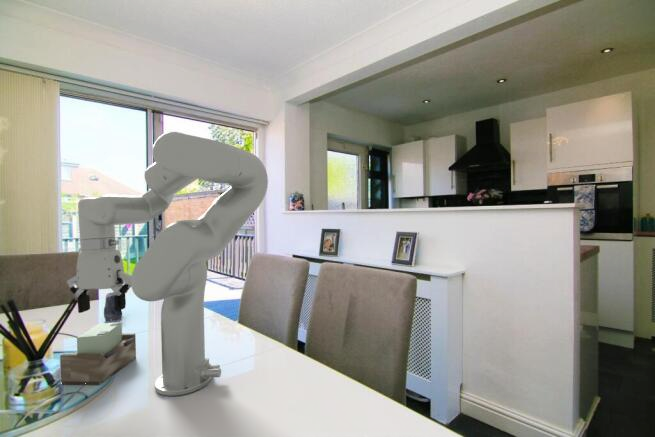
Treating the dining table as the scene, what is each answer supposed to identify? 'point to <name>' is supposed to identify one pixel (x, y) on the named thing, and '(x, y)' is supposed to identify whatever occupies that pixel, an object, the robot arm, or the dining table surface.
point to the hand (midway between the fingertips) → (102, 310)
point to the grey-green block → (100, 338)
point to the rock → (111, 308)
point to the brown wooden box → (97, 363)
